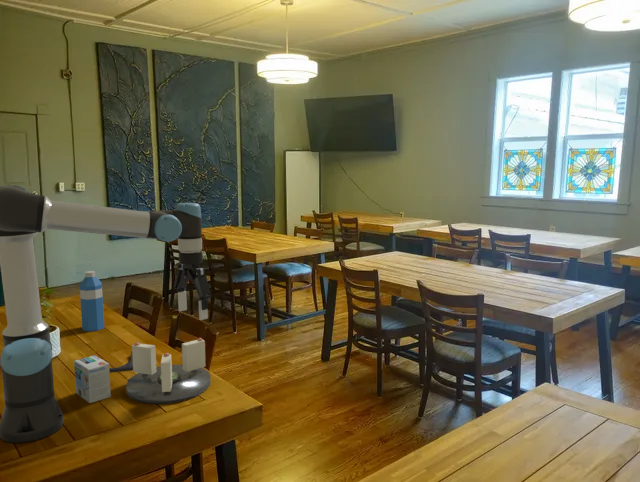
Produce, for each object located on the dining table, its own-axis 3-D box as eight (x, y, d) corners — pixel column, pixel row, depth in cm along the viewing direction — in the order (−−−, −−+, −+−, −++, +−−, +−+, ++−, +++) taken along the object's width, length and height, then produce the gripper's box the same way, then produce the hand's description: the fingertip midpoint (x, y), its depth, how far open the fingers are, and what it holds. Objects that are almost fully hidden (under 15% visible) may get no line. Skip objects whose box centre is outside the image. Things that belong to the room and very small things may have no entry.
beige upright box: (186, 375, 170) (185, 342, 168) (182, 373, 172) (181, 340, 170) (205, 369, 175) (204, 338, 173) (201, 367, 176) (200, 336, 175)
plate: (171, 411, 150) (170, 398, 149) (108, 393, 162) (107, 380, 161) (226, 378, 173) (226, 367, 172) (167, 365, 185) (167, 354, 184)
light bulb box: (75, 393, 162) (72, 360, 160) (96, 386, 167) (94, 354, 165) (90, 404, 155) (87, 369, 153) (112, 396, 159) (110, 363, 158)
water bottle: (99, 331, 222) (96, 274, 218) (77, 331, 222) (74, 274, 218) (108, 324, 231) (105, 269, 227) (87, 324, 231) (84, 269, 227)
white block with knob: (171, 395, 155) (169, 359, 154) (162, 396, 155) (160, 360, 153) (172, 385, 162) (171, 351, 160) (163, 386, 161) (162, 352, 160)
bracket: (153, 355, 196) (153, 348, 196) (152, 369, 182) (152, 362, 182) (113, 359, 192) (112, 352, 192) (108, 374, 178) (108, 366, 178)
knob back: (156, 375, 170) (155, 342, 168) (151, 378, 167) (150, 345, 166) (138, 372, 172) (136, 340, 170) (133, 375, 169) (131, 343, 168)
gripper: (221, 254, 161) (223, 320, 164) (182, 245, 179) (184, 305, 182) (199, 257, 156) (202, 325, 159) (161, 247, 174) (164, 309, 177)
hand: (192, 314), depth 170 cm, fingers open, 13 cm apart
